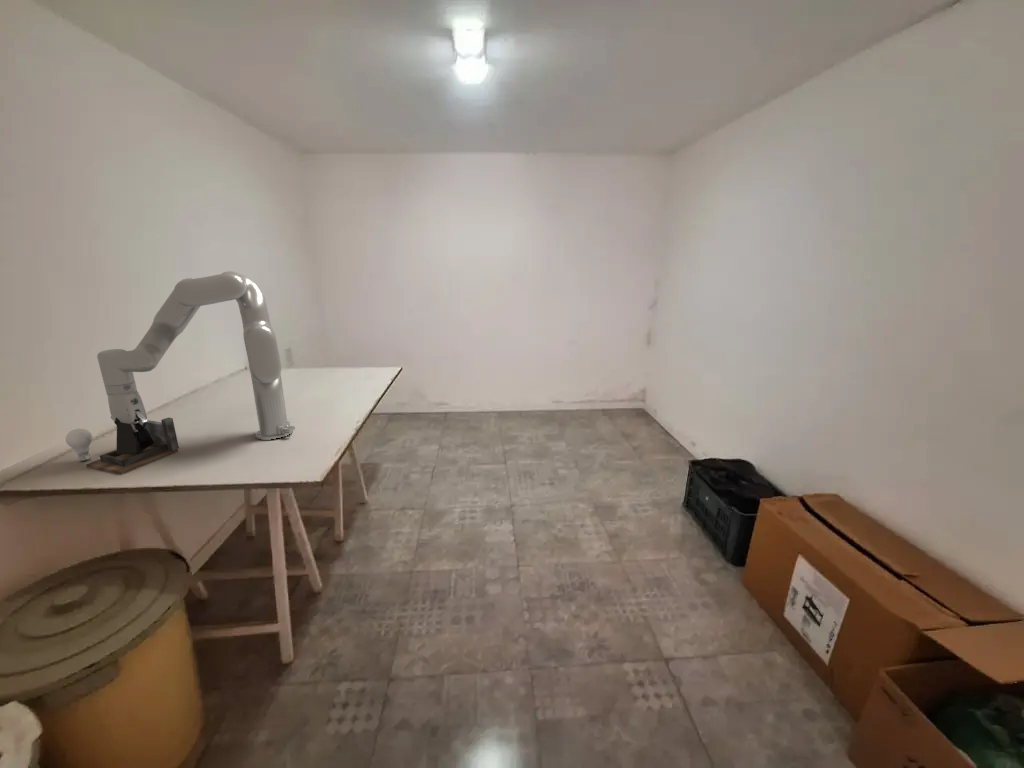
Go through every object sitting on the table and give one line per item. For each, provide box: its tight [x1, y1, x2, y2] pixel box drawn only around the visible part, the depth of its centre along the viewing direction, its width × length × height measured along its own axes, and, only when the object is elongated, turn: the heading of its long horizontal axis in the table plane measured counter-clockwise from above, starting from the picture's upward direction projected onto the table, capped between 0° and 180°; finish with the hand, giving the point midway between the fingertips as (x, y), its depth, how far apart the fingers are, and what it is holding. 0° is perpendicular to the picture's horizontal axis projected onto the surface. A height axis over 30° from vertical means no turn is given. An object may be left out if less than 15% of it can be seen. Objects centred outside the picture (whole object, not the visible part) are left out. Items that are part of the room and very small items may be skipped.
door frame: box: [86, 417, 180, 476], centre depth 152 cm, size 16×18×12 cm
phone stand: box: [115, 418, 154, 455], centre depth 152 cm, size 9×6×12 cm, turn 5°
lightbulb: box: [65, 428, 93, 462], centre depth 151 cm, size 6×6×11 cm
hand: (134, 440), depth 153 cm, fingers closed on phone stand, 6 cm apart
